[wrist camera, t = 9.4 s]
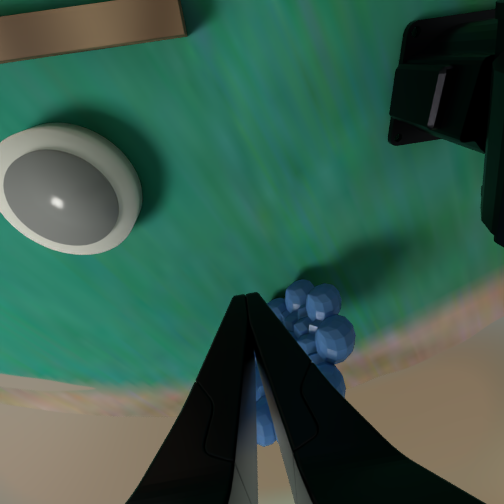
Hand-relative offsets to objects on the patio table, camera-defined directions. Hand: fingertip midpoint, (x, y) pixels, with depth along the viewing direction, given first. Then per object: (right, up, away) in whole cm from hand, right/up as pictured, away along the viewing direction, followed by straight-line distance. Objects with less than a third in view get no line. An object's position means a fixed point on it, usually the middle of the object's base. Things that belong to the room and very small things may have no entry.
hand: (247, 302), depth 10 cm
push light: (-11, +6, +9) cm, 16 cm away
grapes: (+3, -3, +18) cm, 18 cm away
